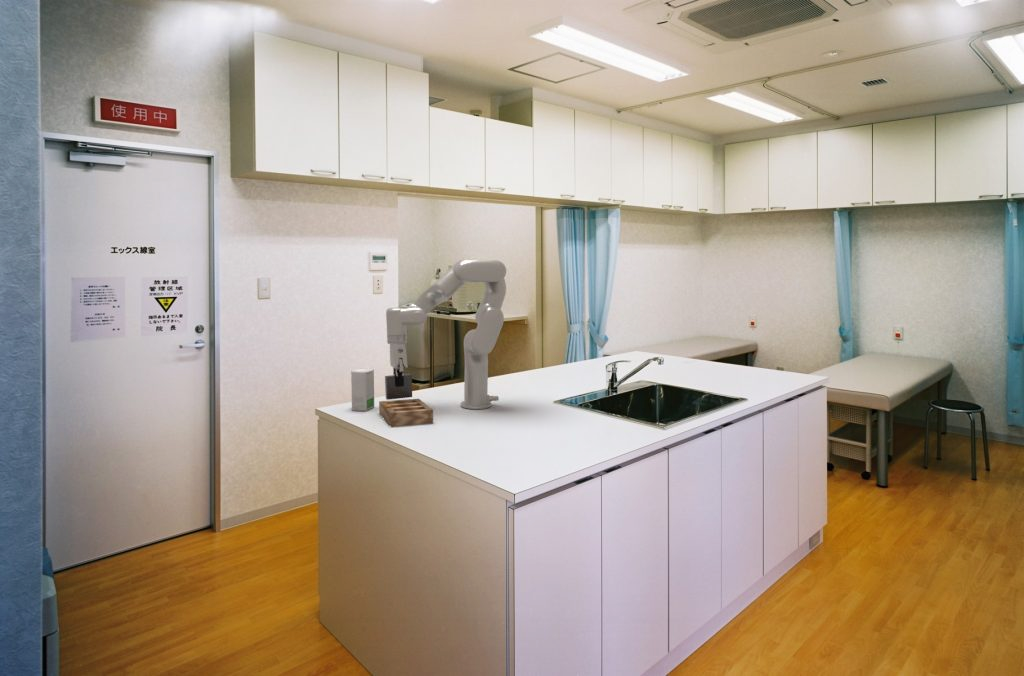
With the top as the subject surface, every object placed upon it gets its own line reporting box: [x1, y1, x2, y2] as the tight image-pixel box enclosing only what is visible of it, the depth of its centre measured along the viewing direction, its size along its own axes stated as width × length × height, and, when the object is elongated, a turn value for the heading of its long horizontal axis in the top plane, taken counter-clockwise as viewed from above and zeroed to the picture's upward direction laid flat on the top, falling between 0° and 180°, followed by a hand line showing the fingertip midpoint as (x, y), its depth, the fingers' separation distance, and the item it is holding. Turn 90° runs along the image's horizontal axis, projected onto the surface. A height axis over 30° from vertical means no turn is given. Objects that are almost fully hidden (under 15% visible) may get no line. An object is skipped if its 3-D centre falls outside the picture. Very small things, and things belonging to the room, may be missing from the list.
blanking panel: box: [384, 373, 413, 401], centre depth 241 cm, size 10×2×9 cm, turn 114°
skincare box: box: [350, 368, 375, 412], centre depth 242 cm, size 8×7×16 cm
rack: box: [378, 398, 434, 428], centre depth 228 cm, size 16×20×6 cm
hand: (398, 385), depth 241 cm, fingers closed on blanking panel, 2 cm apart
